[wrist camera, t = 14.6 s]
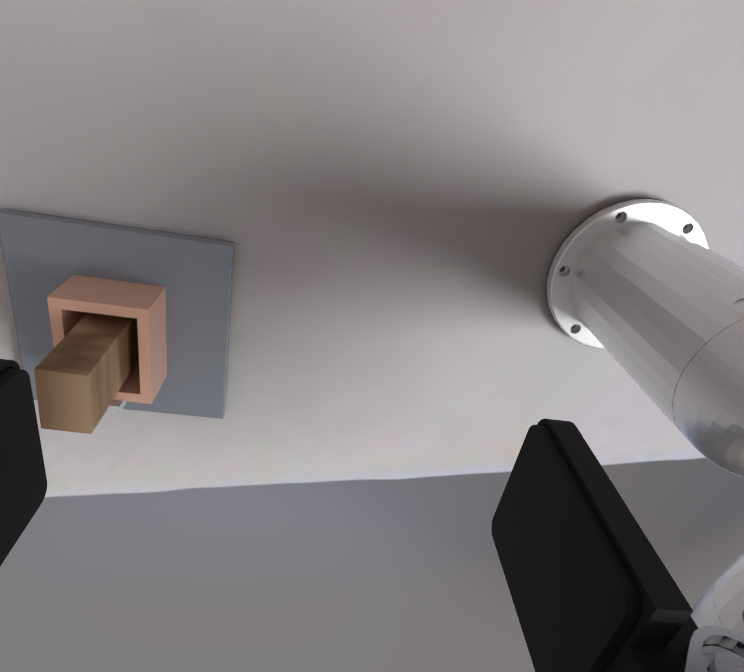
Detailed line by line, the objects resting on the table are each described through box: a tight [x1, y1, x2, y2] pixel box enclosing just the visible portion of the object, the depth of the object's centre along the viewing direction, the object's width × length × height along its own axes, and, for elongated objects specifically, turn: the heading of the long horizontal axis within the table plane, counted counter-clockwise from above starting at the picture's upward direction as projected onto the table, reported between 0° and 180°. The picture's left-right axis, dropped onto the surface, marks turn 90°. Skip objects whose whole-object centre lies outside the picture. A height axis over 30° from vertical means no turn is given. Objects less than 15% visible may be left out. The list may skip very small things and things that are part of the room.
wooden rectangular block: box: [34, 313, 139, 434], centre depth 36 cm, size 3×4×10 cm, turn 168°
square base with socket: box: [0, 209, 233, 419], centre depth 39 cm, size 16×16×6 cm
